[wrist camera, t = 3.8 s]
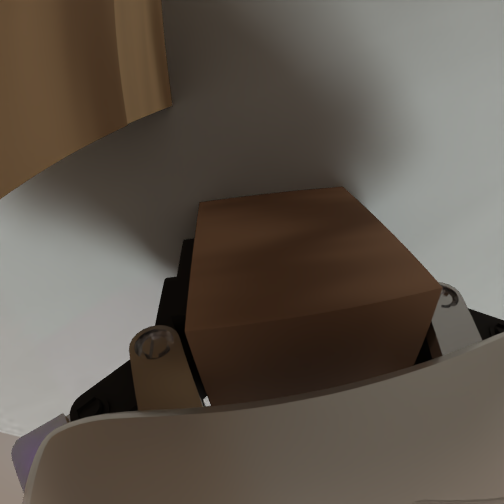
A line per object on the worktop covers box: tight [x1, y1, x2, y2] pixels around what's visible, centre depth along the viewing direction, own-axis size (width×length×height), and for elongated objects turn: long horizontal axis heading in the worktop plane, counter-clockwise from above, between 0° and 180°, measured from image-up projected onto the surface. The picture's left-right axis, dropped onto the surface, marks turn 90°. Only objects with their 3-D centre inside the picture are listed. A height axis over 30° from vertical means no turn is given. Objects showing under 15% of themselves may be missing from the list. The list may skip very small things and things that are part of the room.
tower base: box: [114, 0, 172, 124], centre depth 5 cm, size 6×6×5 cm
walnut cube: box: [185, 187, 443, 406], centre depth 9 cm, size 5×5×6 cm
